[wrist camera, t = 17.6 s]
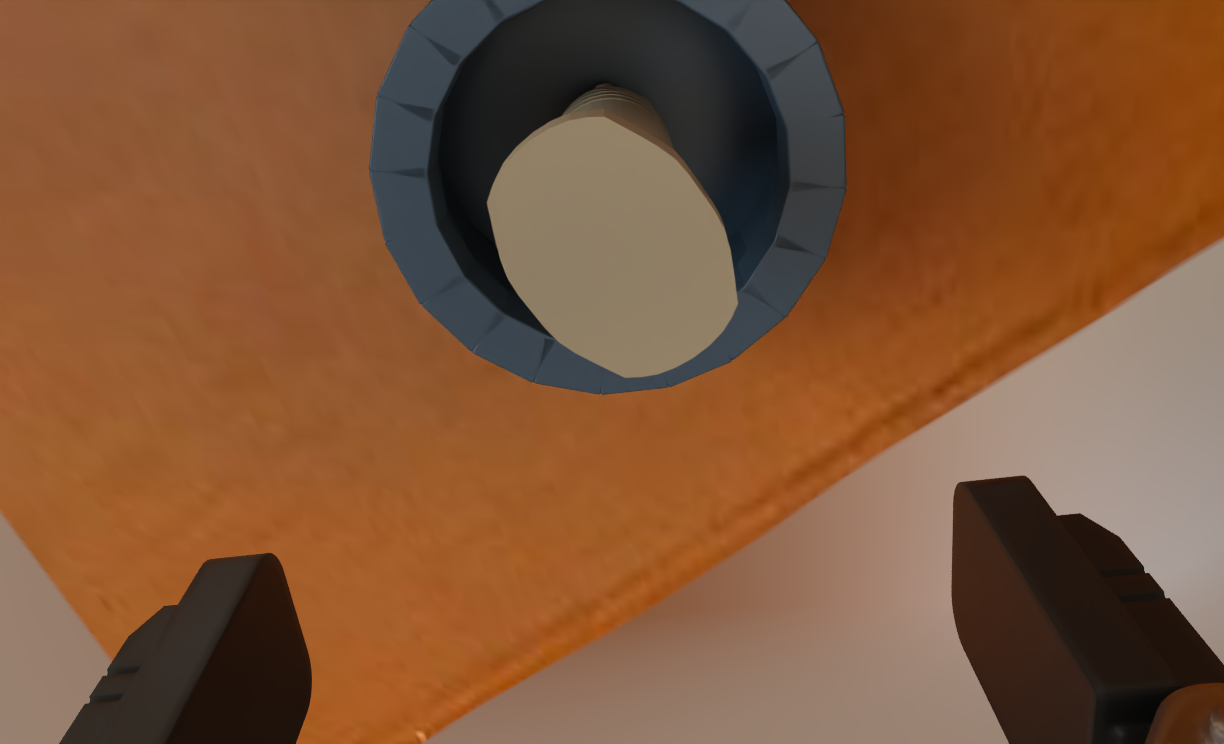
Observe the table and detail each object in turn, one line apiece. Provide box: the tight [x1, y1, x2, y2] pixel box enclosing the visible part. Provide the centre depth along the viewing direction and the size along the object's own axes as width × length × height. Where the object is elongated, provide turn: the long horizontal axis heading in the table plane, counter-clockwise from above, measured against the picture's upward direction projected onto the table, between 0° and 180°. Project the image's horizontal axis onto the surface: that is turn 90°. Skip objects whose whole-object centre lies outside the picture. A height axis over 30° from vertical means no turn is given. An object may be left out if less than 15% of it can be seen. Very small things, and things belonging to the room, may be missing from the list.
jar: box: [369, 0, 847, 395], centre depth 34 cm, size 14×14×8 cm
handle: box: [487, 82, 738, 378], centre depth 31 cm, size 5×6×15 cm
